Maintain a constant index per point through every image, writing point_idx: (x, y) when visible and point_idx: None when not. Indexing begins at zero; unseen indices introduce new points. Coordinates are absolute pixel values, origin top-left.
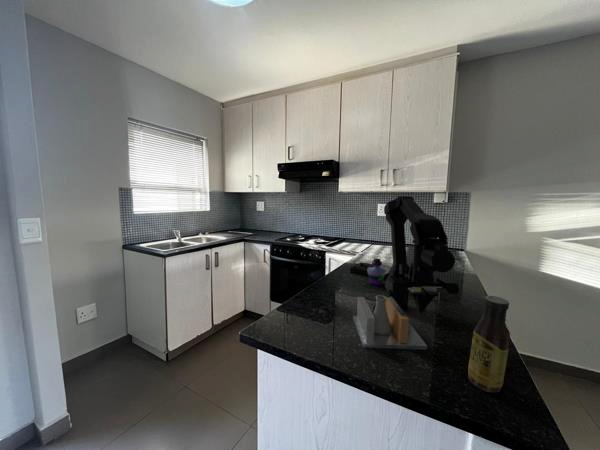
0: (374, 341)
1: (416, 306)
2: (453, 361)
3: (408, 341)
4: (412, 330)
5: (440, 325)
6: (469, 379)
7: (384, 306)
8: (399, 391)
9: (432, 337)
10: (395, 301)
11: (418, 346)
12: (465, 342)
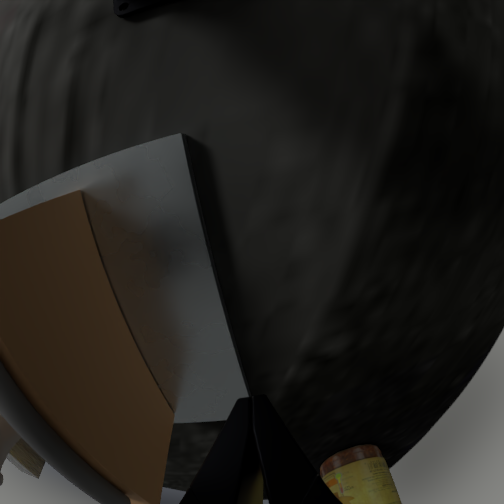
0: None
1: (217, 438)
2: (323, 426)
3: (180, 405)
4: (207, 322)
5: (411, 167)
6: (321, 466)
7: (11, 447)
8: (166, 486)
9: (314, 318)
10: (21, 432)
11: (218, 419)
12: (437, 312)
